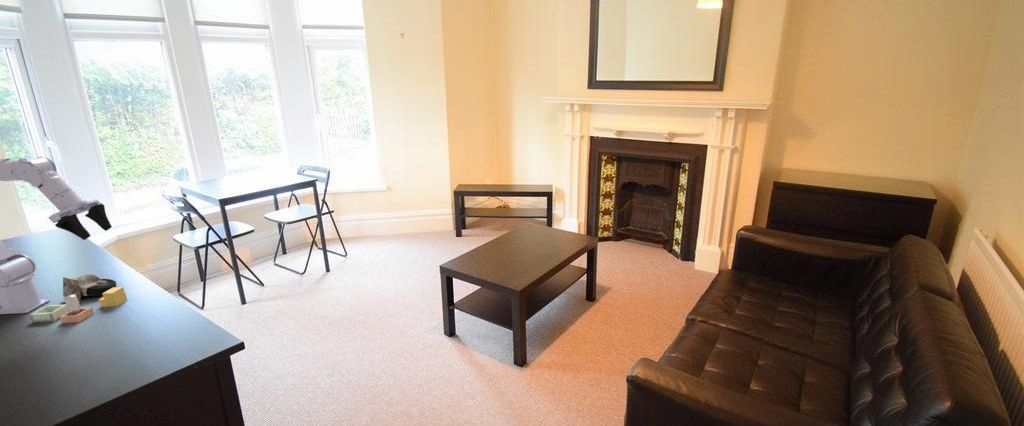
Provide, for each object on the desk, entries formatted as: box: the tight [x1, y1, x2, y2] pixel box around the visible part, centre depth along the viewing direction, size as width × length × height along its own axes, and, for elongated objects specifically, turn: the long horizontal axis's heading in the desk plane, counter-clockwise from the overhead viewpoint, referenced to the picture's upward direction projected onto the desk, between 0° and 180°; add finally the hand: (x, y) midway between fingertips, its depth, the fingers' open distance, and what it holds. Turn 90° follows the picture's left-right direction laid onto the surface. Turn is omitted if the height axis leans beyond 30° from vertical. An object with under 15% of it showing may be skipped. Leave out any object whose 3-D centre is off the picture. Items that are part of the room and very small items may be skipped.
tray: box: [29, 303, 69, 323], centre depth 138 cm, size 6×5×2 cm
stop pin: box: [63, 294, 82, 315], centre depth 136 cm, size 3×3×7 cm
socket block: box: [59, 306, 95, 324], centre depth 137 cm, size 5×5×2 cm
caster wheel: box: [62, 274, 117, 302], centre depth 151 cm, size 7×11×10 cm
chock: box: [98, 286, 128, 308], centre depth 144 cm, size 5×4×4 cm
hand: (98, 233), depth 138 cm, fingers open, 7 cm apart
